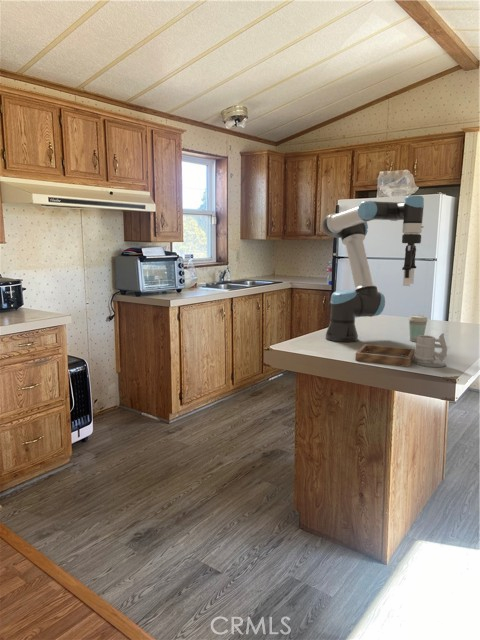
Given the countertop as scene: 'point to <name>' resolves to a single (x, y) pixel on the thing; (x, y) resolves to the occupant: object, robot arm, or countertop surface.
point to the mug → (429, 349)
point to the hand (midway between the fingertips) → (408, 284)
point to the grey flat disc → (433, 364)
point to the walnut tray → (384, 359)
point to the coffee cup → (417, 326)
